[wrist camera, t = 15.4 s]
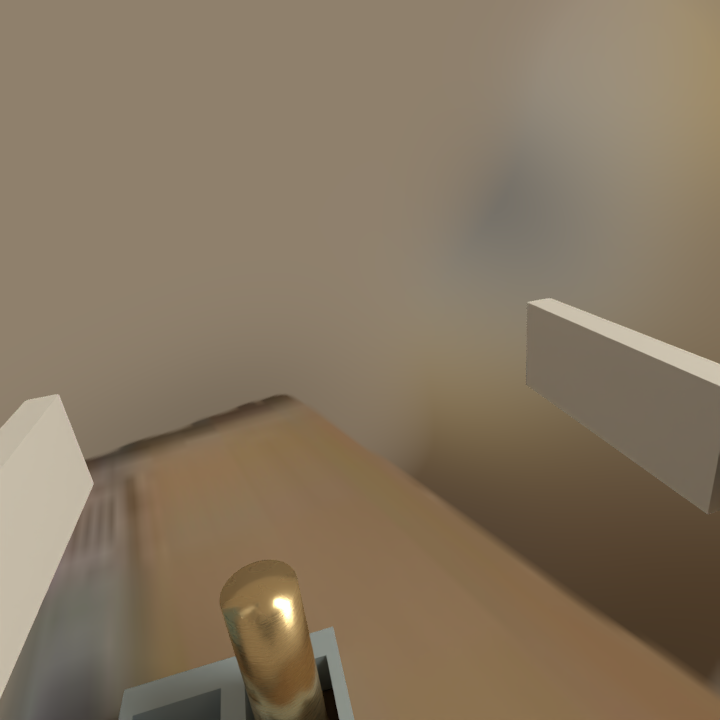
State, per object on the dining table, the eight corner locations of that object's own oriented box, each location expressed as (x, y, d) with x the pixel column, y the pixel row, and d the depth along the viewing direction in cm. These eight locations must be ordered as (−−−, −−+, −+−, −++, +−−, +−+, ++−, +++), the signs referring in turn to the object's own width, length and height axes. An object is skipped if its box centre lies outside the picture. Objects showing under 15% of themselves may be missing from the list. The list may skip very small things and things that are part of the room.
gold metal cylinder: (269, 792, 31) (218, 633, 26) (264, 721, 35) (220, 571, 30) (337, 767, 32) (302, 609, 26) (325, 701, 36) (292, 551, 30)
